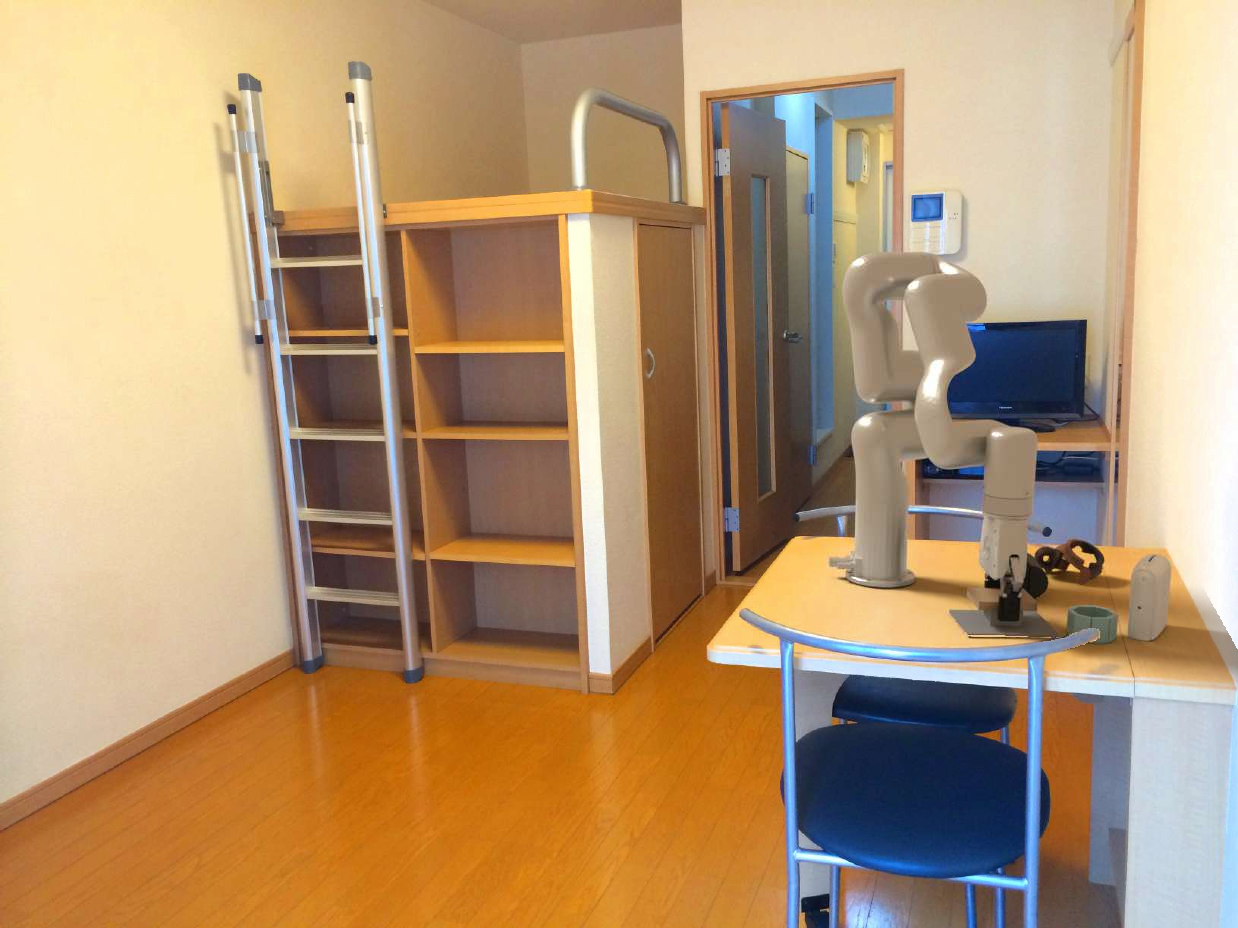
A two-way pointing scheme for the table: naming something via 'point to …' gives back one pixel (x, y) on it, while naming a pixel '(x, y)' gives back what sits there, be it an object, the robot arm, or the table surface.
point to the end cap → (1033, 578)
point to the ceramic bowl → (1093, 621)
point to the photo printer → (1149, 597)
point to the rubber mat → (984, 629)
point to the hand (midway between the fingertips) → (1000, 611)
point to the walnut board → (990, 599)
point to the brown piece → (1071, 559)
